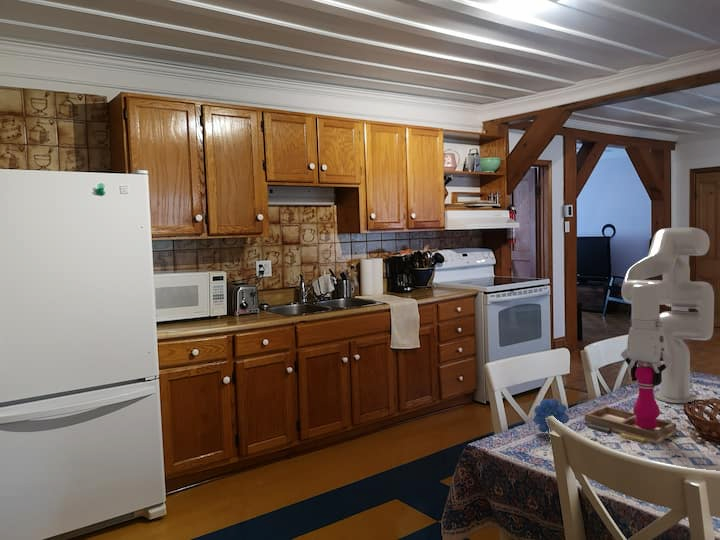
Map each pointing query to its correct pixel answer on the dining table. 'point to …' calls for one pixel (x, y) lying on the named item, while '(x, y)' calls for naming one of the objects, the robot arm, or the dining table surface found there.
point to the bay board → (627, 425)
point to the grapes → (549, 413)
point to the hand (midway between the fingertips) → (646, 382)
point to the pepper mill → (645, 398)
